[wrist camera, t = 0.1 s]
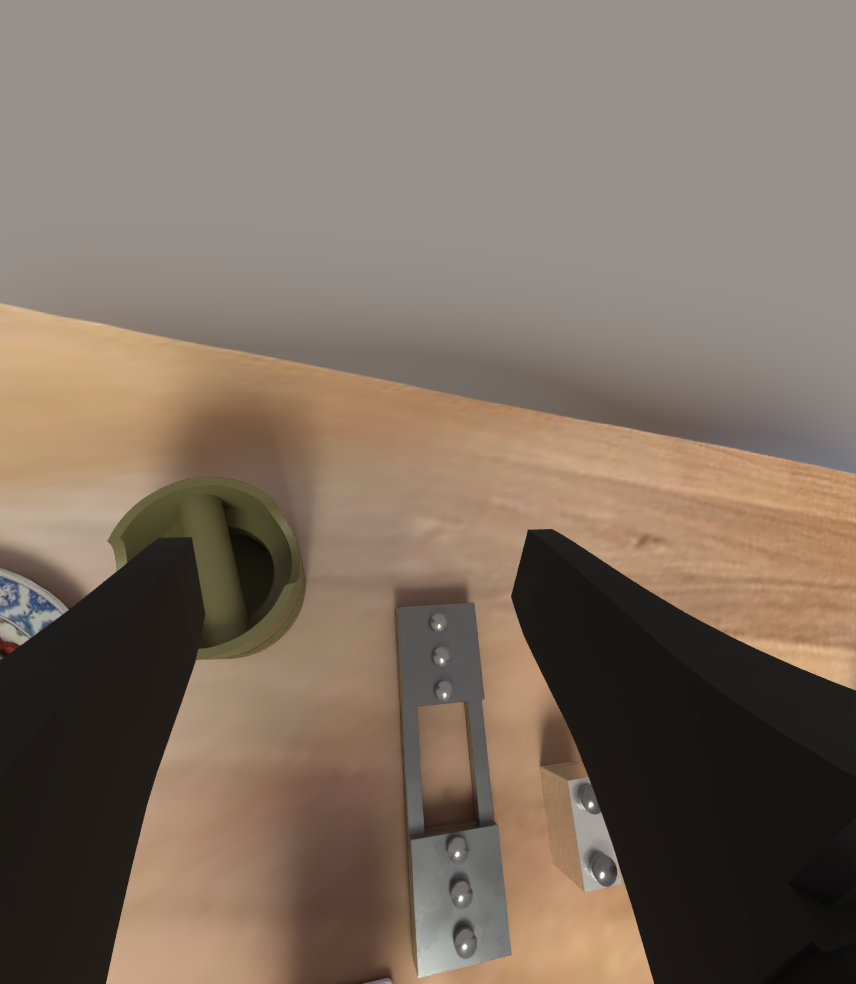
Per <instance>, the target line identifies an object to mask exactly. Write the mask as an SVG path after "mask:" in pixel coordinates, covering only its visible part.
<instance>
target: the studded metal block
mask: <svg viewBox="0 0 856 984" xmlns="http://www.w3.org/2000/svg"><path fill="white" fill-rule="evenodd" d="M540 772H541V779H542V786H543V794H544V801H545V808H546V816H547V823H548V831H549V838H550V845H551V853H552V860H553V864H554V865H555V866H556V867H557V868H558V869H559V870H561V871H562V872H563V873H564V874H565V875H566V876H567V877H568V878H569V879H571V880H572V881H573V882H574V883H575V884H576V885H577V886H578V887H579V888H581V889H582V890H583V891H584V892H589V891H594V890H598V889H602V888H607V887H611V886H616V885H620V884H621V879H620V873H619V867H618V861H617V857H616V854H615V851H614V848H613V845H612V842H611V839H610V836H609V833H608V830H607V828H606V825H605V822H604V819H603V816H602V813H601V810H600V808H599V805H598V802H597V799H596V796H595V793H594V790H593V788H592V785H591V783H590V780H589V777H588V775H587V772H586V769H585V768H584V767H582V766H580V765H577V764H575V763H573V762H566V763H560V764H553V765H546V766H540Z"/></svg>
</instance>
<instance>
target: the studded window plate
mask: <svg viewBox="0 0 856 984" xmlns="http://www.w3.org/2000/svg"><path fill="white" fill-rule="evenodd" d="M395 615H396V635H397V654H398V674H399V693H400V713H401V732H402V752H403V772H404V791H405V811H406V830H407V850H408V870H409V889H410V909H411V928H412V948H413V962H414V965H415V968H416V972H417V975H418V978H421V977H425V976H429V975H433V974H437V973H441V972H445V971H449V970H453V969H457V968H461V967H465V966H469V965H474V964H478V963H482V962H486V961H490V960H494V959H498V958H502V957H506V956H510V955H512V954H511V945H510V935H509V926H508V916H507V907H506V897H505V888H504V879H503V869H502V860H501V850H500V841H499V831H498V825H497V824H496V823H495V822H494V814H493V804H492V795H491V785H490V776H489V766H488V756H487V747H486V737H485V728H484V718H483V708H482V700H483V699H484V690H483V681H482V671H481V662H480V652H479V643H478V633H477V624H476V615H475V605H474V603H458V604H441V605H424V606H407V607H398V608H396V609H395ZM455 702H465V713H466V724H467V735H468V745H469V756H470V767H471V778H472V788H473V799H474V810H475V819H472V820H466V821H461V822H455V823H449V824H443V825H437V826H431V827H426V828H424V817H423V801H422V785H421V769H420V753H419V736H418V720H417V707H419V706H428V705H437V704H446V703H455Z"/></svg>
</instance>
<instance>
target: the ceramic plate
mask: <svg viewBox="0 0 856 984" xmlns="http://www.w3.org/2000/svg"><path fill="white" fill-rule="evenodd" d="M68 610H69V609H68V608H67V607H66V606H65V605H64V604H63V603H62V602H61V601H60V600H59V599H57V598H56V597H55V596H54V595H53V594H51V593H50V592H49V591H47V590H46V589H44V588H42V587H41V586H39V585H37V584H36V583H34V582H32V581H31V580H29V579H27V578H25V577H23V576H21V575H18V574H16V573H13V572H10V571H7V570H5V569H2V568H0V660H1V659H2V658H3V657H5V656H6V655H8V654H9V653H11V652H12V651H14V650H15V649H16V648H18V647H19V646H20V645H22V644H23V643H24V642H26V641H27V640H29V639H30V638H31V637H33V636H34V635H35V634H37V633H38V632H39V631H41V630H42V629H43V628H45V627H46V626H48V625H49V624H50V623H52V622H53V621H54V620H56V619H57V618H58V617H60V616H61V615H62V614H64V613H65V612H67V611H68Z"/></svg>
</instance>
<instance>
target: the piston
mask: <svg viewBox="0 0 856 984" xmlns="http://www.w3.org/2000/svg"><path fill="white" fill-rule="evenodd" d="M176 537H192V541H193V546H194V552H195V558H196V563H197V569H198V575H199V580H200V586H201V592H202V598H203V603H204V609H205V618H204V623H203V629H202V634H201V639H200V643H199V648H198V653H197V657H196V660H203V659H232V658H241V657H246V656H249V655H252V654H255V653H258V652H260V651H262V650H264V649H266V648H268V647H269V646H271V645H272V644H274V643H275V642H276V641H278V640H279V639H280V638H281V637H282V636H283V635H284V634H285V633H286V632H287V631H288V630H289V629H290V627H291V626H292V625H293V623H294V621H295V620H296V618H297V616H298V614H299V612H300V610H301V607H302V604H303V601H304V596H305V574H304V570H303V565H302V561H301V557H300V552H299V548H298V544H297V541H296V539H295V536H294V534H293V532H292V530H291V528H290V526H289V524H288V523H287V521H286V519H285V518H284V516H283V515H282V513H281V512H280V510H279V509H278V507H277V506H276V504H275V502H274V500H273V499H271V498H270V497H269V496H268V495H266V494H265V493H263V492H262V491H260V490H259V489H257V488H255V487H253V486H251V485H248V484H246V483H243V482H240V481H237V480H232V479H227V478H219V477H202V478H193V479H188V480H183V481H179V482H176V483H173V484H170V485H168V486H165V487H163V488H161V489H159V490H157V491H155V492H153V493H152V494H150V495H148V496H147V497H145V498H144V499H142V500H141V501H140V502H139V503H137V504H136V505H135V506H134V507H133V508H132V509H130V510H129V511H128V512H127V513H126V514H125V516H124V517H123V518H122V519H121V520H120V522H119V523H118V524H117V526H116V527H115V529H114V530H113V532H112V534H111V535H110V537H109V539H108V542H109V543H110V544H111V545H112V547H113V550H114V553H115V559H116V567H117V571H118V570H119V569H120V568H122V567H123V566H124V565H125V564H126V563H128V562H129V561H130V560H131V559H132V558H134V557H135V556H136V555H137V554H139V553H140V552H141V551H142V550H143V549H145V548H146V547H147V546H148V545H150V544H151V543H152V542H154V541H155V540H156V539H157V538H176Z"/></svg>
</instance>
